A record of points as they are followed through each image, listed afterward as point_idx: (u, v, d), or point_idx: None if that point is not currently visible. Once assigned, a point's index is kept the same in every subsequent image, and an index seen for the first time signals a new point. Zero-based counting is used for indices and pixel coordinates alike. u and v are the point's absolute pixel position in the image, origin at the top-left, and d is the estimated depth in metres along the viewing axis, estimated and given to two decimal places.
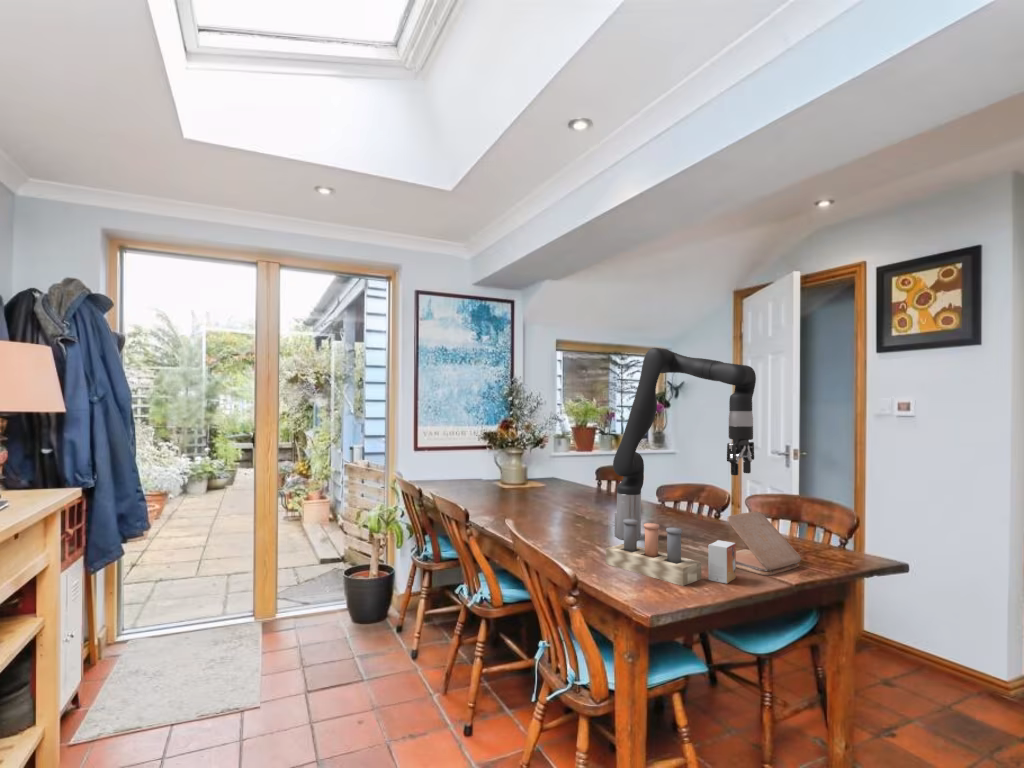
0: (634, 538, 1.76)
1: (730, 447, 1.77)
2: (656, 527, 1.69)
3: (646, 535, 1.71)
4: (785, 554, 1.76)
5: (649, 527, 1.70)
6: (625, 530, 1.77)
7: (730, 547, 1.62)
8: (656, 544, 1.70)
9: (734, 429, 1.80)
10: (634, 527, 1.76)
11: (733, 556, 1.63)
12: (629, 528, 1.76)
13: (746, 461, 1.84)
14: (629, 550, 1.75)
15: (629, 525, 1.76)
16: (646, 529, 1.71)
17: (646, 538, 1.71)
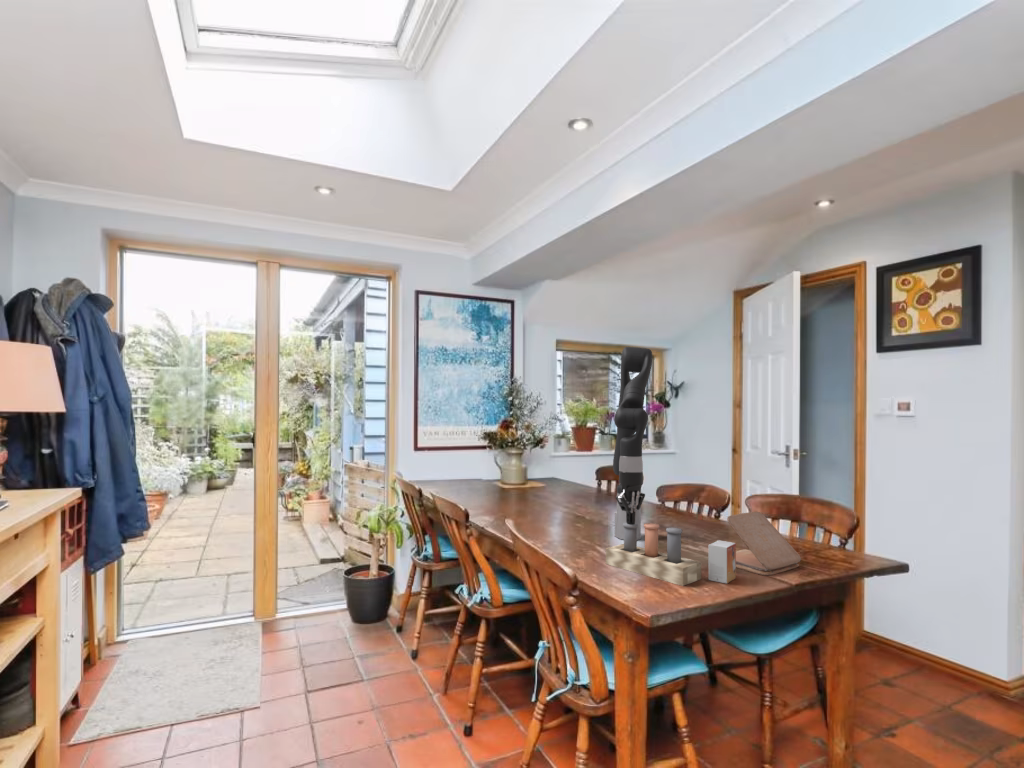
0: (634, 542, 1.76)
1: (620, 501, 1.74)
2: (656, 527, 1.69)
3: (646, 535, 1.71)
4: (785, 554, 1.76)
5: (649, 527, 1.70)
6: (625, 534, 1.77)
7: (730, 547, 1.62)
8: (656, 544, 1.70)
9: (623, 475, 1.76)
10: (634, 531, 1.76)
11: (733, 556, 1.63)
12: (629, 531, 1.76)
13: None
14: None
15: (629, 529, 1.76)
16: (646, 529, 1.71)
17: (646, 538, 1.71)
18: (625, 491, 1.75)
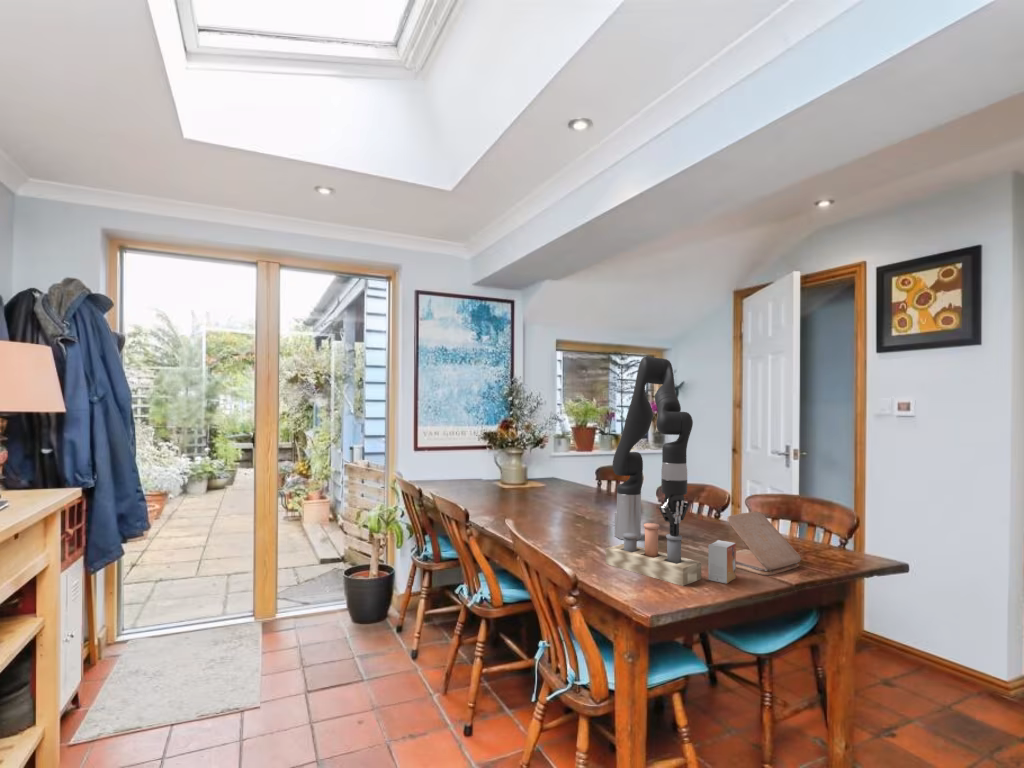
0: None
1: (663, 511, 1.62)
2: (656, 527, 1.69)
3: (646, 535, 1.71)
4: (785, 554, 1.76)
5: (649, 527, 1.70)
6: (625, 544, 1.76)
7: (730, 547, 1.62)
8: (656, 544, 1.70)
9: (666, 483, 1.64)
10: (634, 541, 1.76)
11: (733, 556, 1.63)
12: (629, 542, 1.75)
13: None
14: None
15: (629, 539, 1.75)
16: (646, 529, 1.71)
17: (646, 538, 1.71)
18: (669, 501, 1.63)
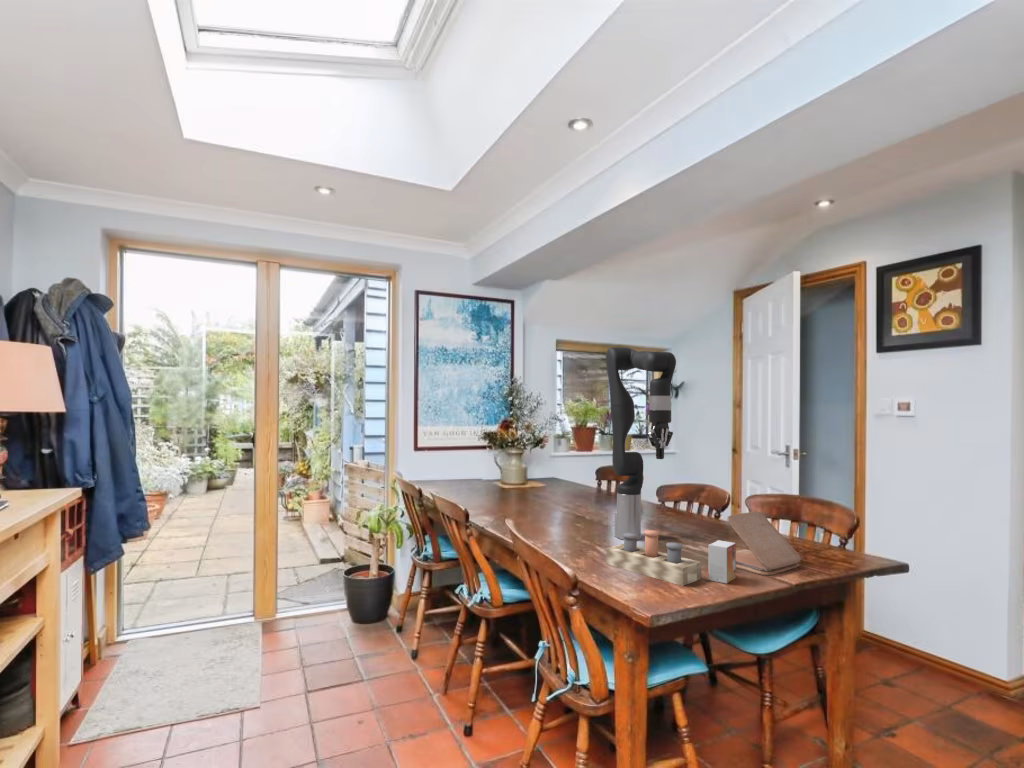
0: None
1: (650, 436, 1.88)
2: (656, 534, 1.69)
3: (646, 542, 1.70)
4: (785, 554, 1.76)
5: (649, 534, 1.69)
6: (625, 544, 1.76)
7: (730, 547, 1.62)
8: (656, 551, 1.70)
9: (653, 413, 1.89)
10: (634, 541, 1.76)
11: (733, 556, 1.63)
12: (629, 542, 1.75)
13: None
14: None
15: (629, 539, 1.75)
16: (646, 536, 1.71)
17: (646, 545, 1.70)
18: (655, 427, 1.88)
